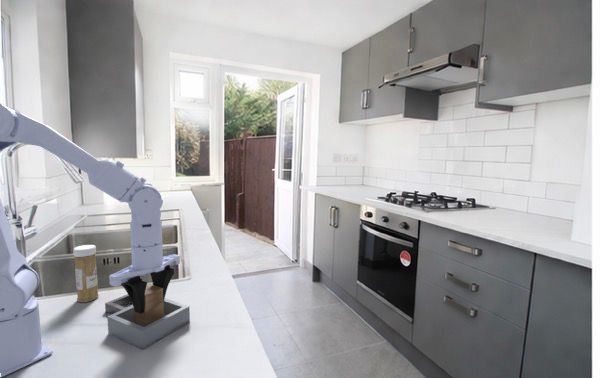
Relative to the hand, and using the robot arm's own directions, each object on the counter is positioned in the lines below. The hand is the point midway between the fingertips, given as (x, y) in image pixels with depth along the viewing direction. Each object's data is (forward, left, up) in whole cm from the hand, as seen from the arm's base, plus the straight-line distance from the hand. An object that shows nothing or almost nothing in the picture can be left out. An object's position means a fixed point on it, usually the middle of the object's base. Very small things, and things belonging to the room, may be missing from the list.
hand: (149, 307), depth 64 cm
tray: (0, 0, -4) cm, 4 cm away
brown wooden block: (0, 0, -3) cm, 3 cm away
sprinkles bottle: (+1, +25, -5) cm, 26 cm away
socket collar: (+3, +11, -4) cm, 13 cm away
